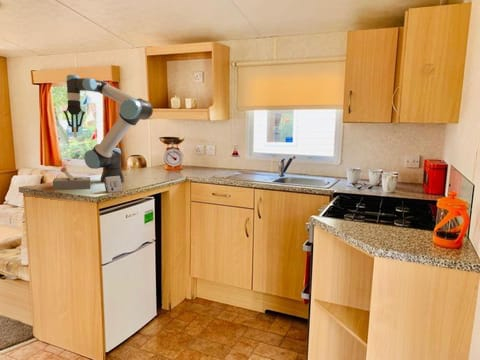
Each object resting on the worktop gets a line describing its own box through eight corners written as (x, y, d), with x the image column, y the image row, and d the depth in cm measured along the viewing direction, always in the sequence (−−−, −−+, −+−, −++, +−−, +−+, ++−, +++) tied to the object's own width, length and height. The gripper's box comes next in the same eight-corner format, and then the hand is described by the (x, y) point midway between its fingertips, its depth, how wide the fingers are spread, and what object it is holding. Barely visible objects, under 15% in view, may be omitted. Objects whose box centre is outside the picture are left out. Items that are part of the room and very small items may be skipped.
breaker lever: (75, 178, 224) (64, 166, 220) (75, 180, 218) (64, 167, 215) (71, 181, 223) (60, 168, 220) (71, 182, 218) (60, 170, 214)
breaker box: (90, 185, 231) (89, 176, 230) (90, 188, 219) (90, 180, 218) (55, 186, 223) (54, 177, 222) (53, 189, 211) (52, 181, 210)
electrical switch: (108, 193, 206) (107, 177, 205) (103, 193, 209) (102, 177, 208) (122, 191, 213) (121, 175, 212) (117, 191, 216) (116, 175, 216)
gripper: (62, 99, 226) (63, 137, 230) (84, 100, 231) (86, 137, 235) (62, 99, 233) (64, 136, 236) (85, 101, 238) (86, 137, 241)
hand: (75, 137), depth 236 cm, fingers closed
